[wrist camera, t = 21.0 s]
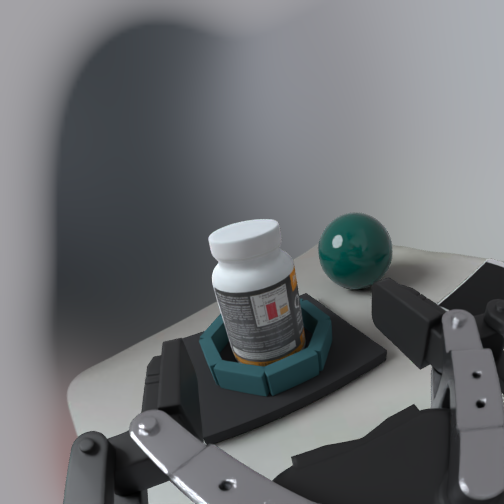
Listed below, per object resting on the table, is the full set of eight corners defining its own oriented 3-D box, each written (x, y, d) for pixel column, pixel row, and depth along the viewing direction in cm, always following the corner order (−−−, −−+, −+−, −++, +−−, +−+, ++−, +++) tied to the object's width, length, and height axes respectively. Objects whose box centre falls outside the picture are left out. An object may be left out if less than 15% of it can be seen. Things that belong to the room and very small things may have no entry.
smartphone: (536, 273, 20) (493, 343, 15) (536, 278, 20) (491, 350, 16) (488, 256, 27) (425, 310, 22) (487, 261, 27) (425, 316, 22)
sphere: (385, 307, 26) (383, 226, 23) (310, 299, 30) (300, 226, 28) (397, 271, 31) (395, 204, 29) (336, 267, 36) (329, 204, 34)
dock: (207, 446, 15) (191, 419, 14) (176, 349, 26) (166, 323, 25) (386, 360, 19) (388, 328, 18) (307, 301, 30) (303, 275, 29)
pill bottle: (321, 351, 21) (305, 223, 17) (253, 386, 19) (216, 252, 16) (282, 321, 26) (262, 212, 22) (224, 347, 24) (191, 234, 20)
